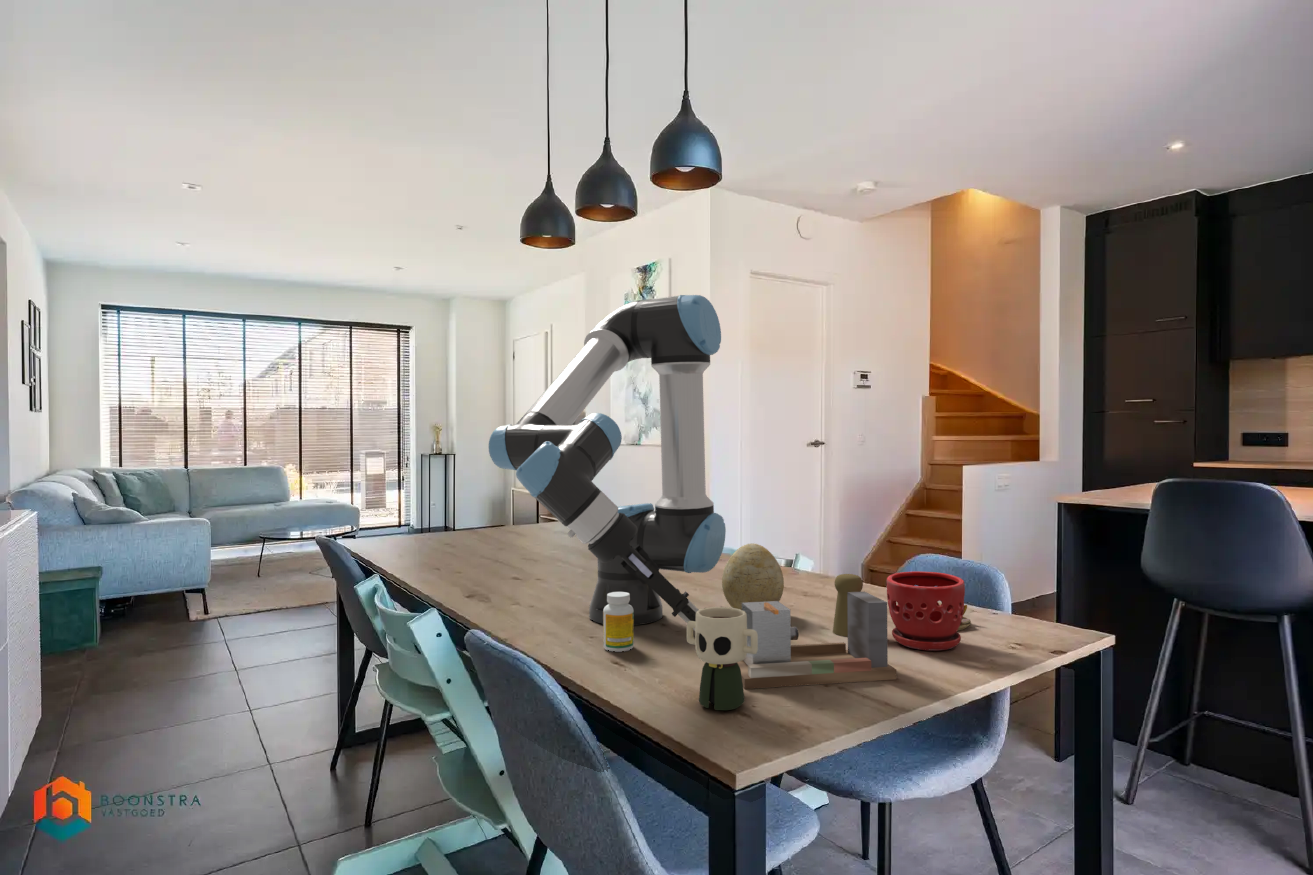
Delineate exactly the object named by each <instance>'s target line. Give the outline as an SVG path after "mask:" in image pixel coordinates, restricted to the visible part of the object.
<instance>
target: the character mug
mask: <svg viewBox="0 0 1313 875" xmlns="http://www.w3.org/2000/svg"><path fill="white" fill-rule="evenodd" d="M693 628H695V631H694V630H693ZM694 635H695V637H694ZM747 636H750V637H751V646H747ZM686 642H687V643H688V644H690V645H694V646H695V653H696V656H697V657H698V659H699V660H700V661H702V662H705V663H704V665H703V666H702V671H701V676H700V685H699V695H698V696H699V697H698V701H699V702H698V703H699V704H700V705H701V706H702V707H704V708H705V709H709V706H710V705H709V704H711V705H713V706H714V708H713V709H714V710H716V711H730V710H736V709H738V708H739V707H740V706H742V705H743V704H744V702H745V701H746V700H745V692H744V690H745V689H744V688H743V683H742V676H741V669H740V667H739V665H738V663H737V662H739V661H742V660H744V659H745V658H746V655H747V653H749V654H757V651H758V634H757V631H755V630H752V629H747V614H746V612H745V611H743V610H740V609H736V608H732V607H724V606H712V607H706V608H700V609H699V610H698V611H697V612H696V621H688V622H687V623H686Z"/></svg>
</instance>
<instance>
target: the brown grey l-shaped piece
mask: <svg viewBox="0 0 1313 875" xmlns="http://www.w3.org/2000/svg"><path fill="white" fill-rule="evenodd" d="M847 602H848V637H847V643H845V642H844V641H843V642H841V641H840V642H826V643H825V642H824V643H811V644H810V643H808V644H795V645H794V644H791V662H785V663H768V664H752V665H747V664H746V663H745V662H744V661H743V660H742V661H739V662H737V663H738V665H739V667H740V669H741V676H742V683H743V690H750V689H751V690H753V689H754V690H755V689H767V688H779V687H780V688H782V687H799V686H815V685H828V684H829V685H830V684H845V683H846V684H847V683H858V682H861V683H862V682H874V681H875V682H877V681H892V680H897V669H896V668H895V667H893V666H892V665H891V664H889V663H888V660H889V656H888V649H889V648H888V601H886V600H883V599H881V598H879V597H877V596H875V595H873V594H872V593H869V592H867V591H861V592H847ZM846 644H847V645H846ZM846 648H847V649H846Z"/></svg>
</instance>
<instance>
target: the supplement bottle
mask: <svg viewBox="0 0 1313 875" xmlns="http://www.w3.org/2000/svg"><path fill="white" fill-rule="evenodd" d="M629 601H630V594H629V593H627V592H612V593H608V594H607V602H608V603H609V604H608V605H606V606H605V607H604V610H603V624H602V627H603V628H602V630H603V634H602V635H603V636H602V638H603V641H602V642H603V649H604V648H605V649H604V650H606V651H608V650H609V651H608V652H613V651H615V652H614V653H622V651H624V652H629V651H631V650H632V649H633V648H634V644H635V643H634V642H635V640H634V638H635V637H634V636H635V635H634V634H635V633H634V628H635V627H634V626H635V625H634V611H633V607H632V606H631V605H629V604H628V603H629ZM630 649H631V650H630Z"/></svg>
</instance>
